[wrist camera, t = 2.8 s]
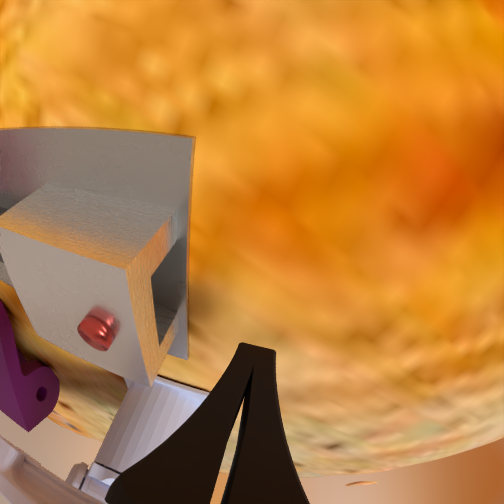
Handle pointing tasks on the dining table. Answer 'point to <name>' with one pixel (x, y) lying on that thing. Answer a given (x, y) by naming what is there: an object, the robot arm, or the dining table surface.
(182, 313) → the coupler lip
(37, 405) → the mounting bracket
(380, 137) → the dining table surface
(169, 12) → the dining table surface
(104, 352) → the block
